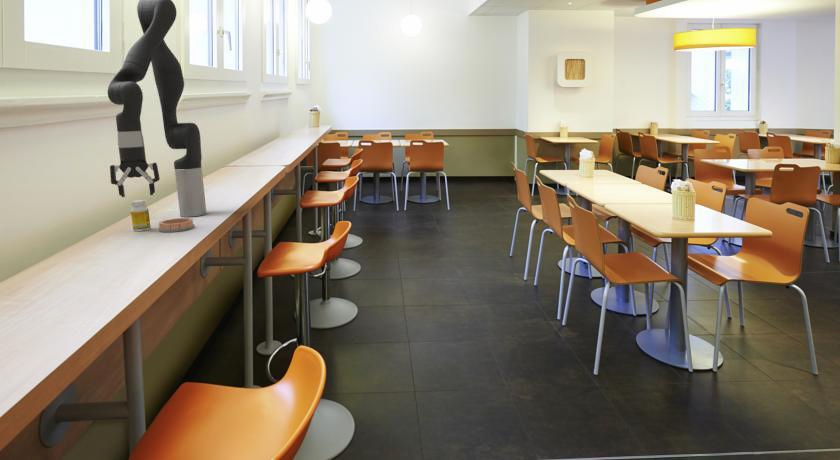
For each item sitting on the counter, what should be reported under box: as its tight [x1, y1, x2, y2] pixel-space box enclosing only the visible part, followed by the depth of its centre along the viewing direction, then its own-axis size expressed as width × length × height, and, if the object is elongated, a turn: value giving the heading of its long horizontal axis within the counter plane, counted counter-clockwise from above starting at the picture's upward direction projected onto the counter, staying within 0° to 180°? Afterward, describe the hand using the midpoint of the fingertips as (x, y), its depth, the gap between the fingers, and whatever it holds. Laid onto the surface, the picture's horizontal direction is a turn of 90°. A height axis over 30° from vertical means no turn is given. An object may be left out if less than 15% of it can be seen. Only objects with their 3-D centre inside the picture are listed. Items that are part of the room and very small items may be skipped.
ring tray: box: [158, 217, 195, 234], centre depth 205 cm, size 11×11×3 cm
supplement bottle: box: [130, 199, 152, 232], centre depth 204 cm, size 5×5×10 cm
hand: (137, 195), depth 203 cm, fingers open, 8 cm apart
